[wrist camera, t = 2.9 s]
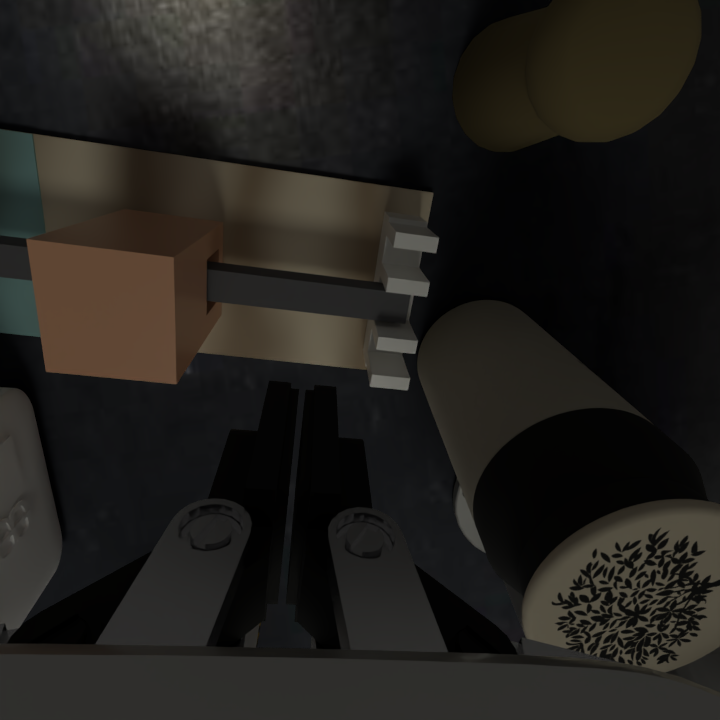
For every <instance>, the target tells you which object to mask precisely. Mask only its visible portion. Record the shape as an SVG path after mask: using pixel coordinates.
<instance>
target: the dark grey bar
mask: <svg viewBox="0 0 720 720" xmlns="http://www.w3.org/2000/svg"><path fill="white" fill-rule="evenodd" d="M0 277H3V278H12V279H21V280H30V281H32V275H31V268H30V261H29V255H28V248H27V241H26V238H18V237H10V236H2V235H0ZM410 296H411V295H407V294H399V293H391V292H386V291H385V288H384V285H383V283H380V282H372V281H364V280H356V279H348V278H340V277H332V276H324V275H316V274H308V273H300V272H292V271H284V270H276V269H268V268H260V267H252V266H243V265H235V264H227V263H219V262H211V261H207V301H212V302H221V303H229V304H238V305H247V306H255V307H264V308H273V309H281V310H290V311H299V312H308V313H316V314H325V315H334V316H342V317H351V318H360V319H368V320H377V321H386V322H394V323H403V324H405V322H406V317H407V312H408V307H409V302H410Z"/></svg>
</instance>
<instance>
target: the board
mask: <svg viewBox="0 0 720 720" xmlns="http://www.w3.org/2000/svg"><path fill="white" fill-rule="evenodd" d="M432 198H433V193H432V192H426V191H419V190H412V189H406V188H399V187H392V186H385V185H379V184H372V183H365V182H358V181H351V180H345V179H338V178H331V177H324V176H318V175H311V174H304V173H297V172H291V171H284V170H277V169H270V168H263V167H257V166H250V165H243V164H236V163H230V162H223V161H216V160H209V159H202V158H196V157H189V156H182V155H175V154H169V153H162V152H155V151H148V150H141V149H135V148H128V147H121V146H114V145H108V144H101V143H94V142H87V141H81V140H74V139H67V138H60V137H53V136H47V135H40V134H33V133H26V132H20V131H13V130H6V129H0V235H2V236H10V237H18V238H26V239H28V238H31V237H34V236H38V235H41V234H44V233H47V232H51V231H54V230H57V229H61V228H64V227H67V226H70V225H74V224H77V223H80V222H84V221H87V220H90V219H93V218H97V217H100V216H103V215H107V214H110V213H113V212H116V211H120V210H123V209H129V210H136V211H144V212H151V213H159V214H166V215H174V216H181V217H189V218H196V219H204V220H211V221H219V222H223V263H227V264H235V265H243V266H252V267H260V268H268V269H276V270H284V271H292V272H300V273H308V274H316V275H324V276H332V277H340V278H348V279H356V280H364V281H372V282H374V276H375V270H376V263H377V257H378V251H379V244H380V238H381V231H382V225H383V219H384V212H385V211H386V212H393V213H400V214H407V215H414V216H420V217H422V218H423V219H424V220H425V221H427V222H428V219H429V214H430V209H431V204H432ZM367 321H368V319H360V318H351V317H342V316H334V315H325V314H316V313H308V312H299V311H290V310H281V309H273V308H264V307H255V306H247V305H238V304H229V303H222V315H221V316H220V318H219V319H218V321H217V323H216V324H215V326H214V327H213V329H212V330H211V332H210V333H209V335H208V336H207V338H206V340H205V341H204V343H203V344H202V346H201V347H200V349H199V350H198V352H200V353H209V354H219V355H229V356H238V357H248V358H258V359H267V360H277V361H287V362H297V363H306V364H316V365H326V366H335V367H345V368H355V369H364V370H367V366H365V361H364V354H363V347H364V340H365V334H366V327H367ZM0 333H8V334H18V335H28V336H37V337H41V335H40V328H39V322H38V315H37V308H36V301H35V295H34V288H33V281H30V280H21V279H12V278H3V277H0Z"/></svg>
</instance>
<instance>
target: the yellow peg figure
mask: <svg viewBox="0 0 720 720" xmlns="http://www.w3.org/2000/svg"><path fill="white" fill-rule="evenodd" d="M700 40H701V9H700V6H699V3H698V0H552V2H551V3H550V4H549V6H548V7H545V8H542V9H538V10H534V11H531V12H527V13H523V14H520V15H516V16H512V17H509V18H506V19H503V20H501V21H498V22H495V23H493V24H490V25H489V26H488V27H487V28H485V29H484V30H483V31H482V32H480V33H479V34H478V35H477V36H475V37H474V38H473V40H472V41H471V43H470V44H469V45H468V47H467V48H466V50H465V51H464V53H463V54H462V56H461V58H460V61H459V64H458V67H457V69H456V72H455V75H454V82H453V96H452V99H453V104H454V109H455V114H456V118H457V120H458V122H459V124H460V125H461V127H462V129H463V131H464V133H465V134H466V135H467V136H468V137H469V138H470V139H471V140H472V141H474V142H475V143H476V144H477V145H478V146H480V147H483V148H485V149H488V150H491V151H493V152H513V151H516V150H519V149H522V148H525V147H527V146H530V145H533V144H536V143H538V142H541V141H544V140H547V139H549V138H552V137H555V136H558V135H560V136H563V137H565V138H568V139H570V140H573V141H575V142H609V141H612V140H614V139H617V138H620V137H623V136H626V135H629V134H631V133H633V132H635V131H637V130H639V129H641V128H642V127H643V126H645V125H646V124H648V123H649V122H651V121H652V120H653V119H655V118H656V117H658V116H659V115H660V114H661V113H662V112H663V111H664V110H665V108H666V107H667V106H668V105H669V104H670V103H671V102H672V100H673V99H674V98H675V97H676V96H677V95H678V93H679V92H680V90H681V88H682V87H683V85H684V83H685V81H686V79H687V77H688V75H689V73H690V71H691V69H692V67H693V65H694V64H695V60H696V56H697V52H698V48H699V44H700Z"/></svg>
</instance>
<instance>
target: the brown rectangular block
mask: <svg viewBox="0 0 720 720" xmlns="http://www.w3.org/2000/svg"><path fill="white" fill-rule="evenodd" d="M26 241H27V248H28V255H29V261H30V268H31V275H32V281H33V288H34V295H35V301H36V308H37V315H38V322H39V328H40V335H41V342H42V348H43V355H44V362H45V368H46V372H54V373H65V374H75V375H86V376H96V377H107V378H117V379H127V380H138V381H148V382H159V383H169V384H177V383H178V381H179V380H180V378H181V377H182V375H183V373H184V372H185V370H186V369H187V367H188V366H189V364H190V363H191V361H192V360H193V358H194V356H195V355H196V353H197V352H198V350H199V349H200V347H201V346H202V344H203V343H204V341H205V340H206V338H207V336H208V335H209V333H210V332H211V330H212V329H213V327H214V326H215V324H216V323H217V321H218V319H219V318H220V316H221V315H222V303H221V302H212V301H207V261H211V262H219V263H223V222H219V221H211V220H204V219H196V218H189V217H181V216H174V215H166V214H159V213H151V212H144V211H136V210H129V209H123V210H120V211H116V212H113V213H110V214H107V215H103V216H100V217H97V218H93V219H90V220H87V221H84V222H80V223H77V224H74V225H70V226H67V227H64V228H61V229H57V230H54V231H51V232H47V233H44V234H41V235H38V236H34V237H31V238H28V239H26Z"/></svg>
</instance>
